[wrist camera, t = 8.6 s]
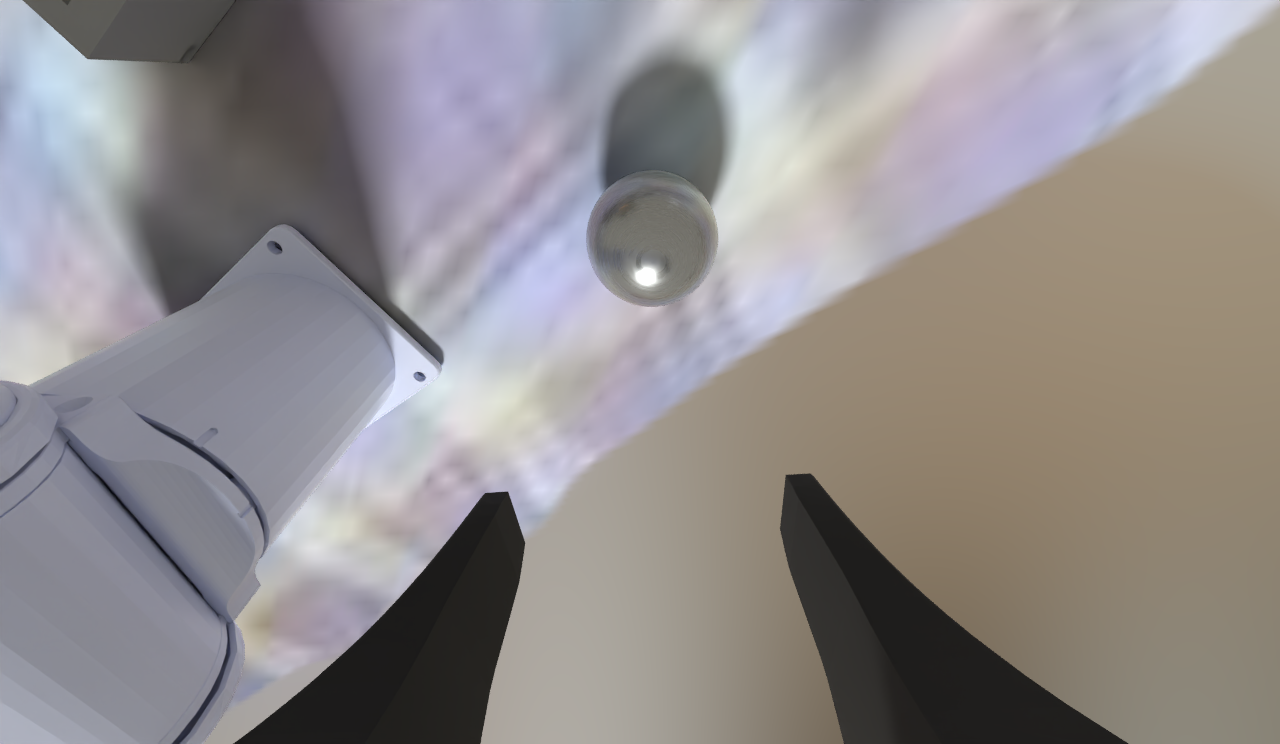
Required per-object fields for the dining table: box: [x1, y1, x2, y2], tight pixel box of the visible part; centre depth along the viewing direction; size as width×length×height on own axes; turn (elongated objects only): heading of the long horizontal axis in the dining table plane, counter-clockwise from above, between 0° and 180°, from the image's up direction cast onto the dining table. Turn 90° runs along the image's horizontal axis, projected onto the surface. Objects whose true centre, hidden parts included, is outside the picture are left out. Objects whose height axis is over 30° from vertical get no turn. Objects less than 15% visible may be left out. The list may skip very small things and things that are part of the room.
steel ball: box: [586, 170, 718, 307], centre depth 16 cm, size 4×4×4 cm
